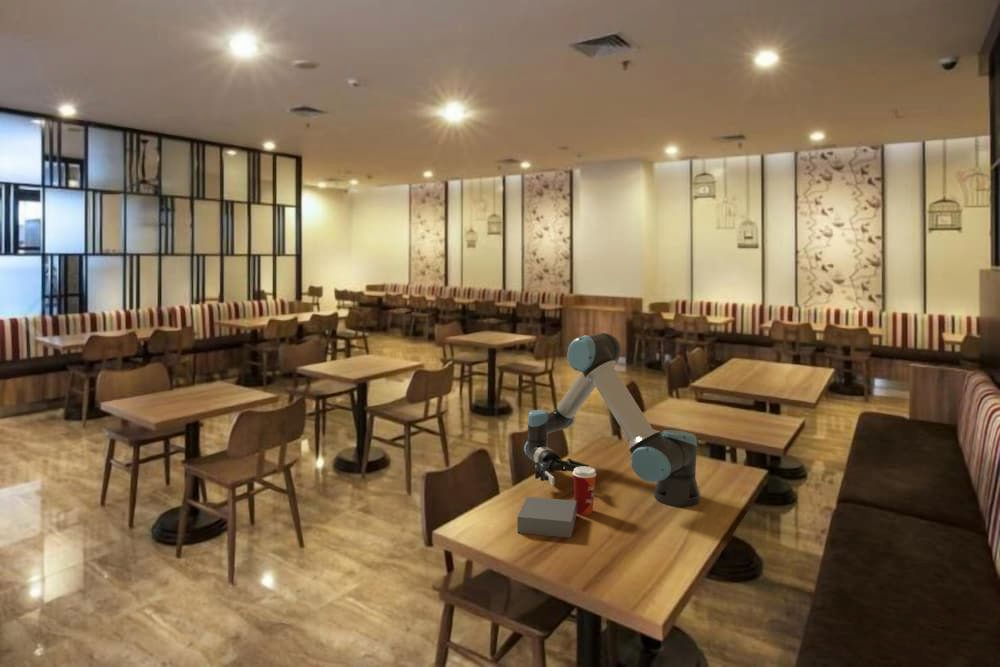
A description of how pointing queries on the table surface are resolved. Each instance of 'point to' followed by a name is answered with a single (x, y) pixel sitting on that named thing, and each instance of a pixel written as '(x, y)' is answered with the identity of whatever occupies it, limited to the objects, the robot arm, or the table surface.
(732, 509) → the table surface
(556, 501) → the base block
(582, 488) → the paper cup
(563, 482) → the table surface
